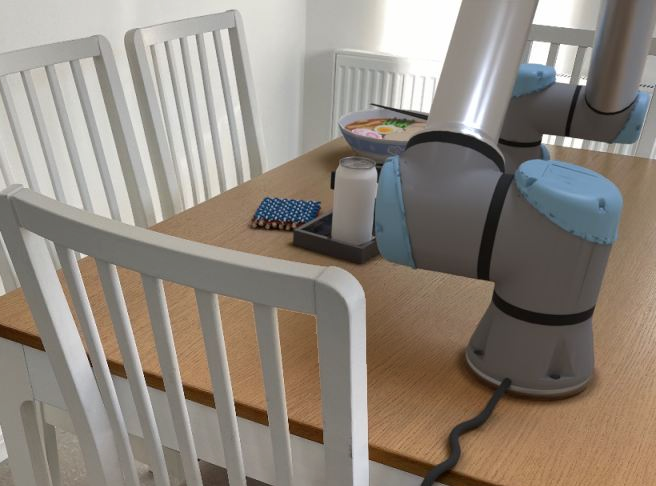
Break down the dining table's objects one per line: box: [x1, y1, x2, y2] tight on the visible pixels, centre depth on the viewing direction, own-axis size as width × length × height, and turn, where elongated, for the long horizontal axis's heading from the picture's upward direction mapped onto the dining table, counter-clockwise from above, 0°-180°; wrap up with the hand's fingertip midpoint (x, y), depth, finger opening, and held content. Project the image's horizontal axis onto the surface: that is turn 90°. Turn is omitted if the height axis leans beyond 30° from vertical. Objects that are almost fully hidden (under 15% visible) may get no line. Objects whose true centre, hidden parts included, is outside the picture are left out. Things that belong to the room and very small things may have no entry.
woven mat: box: [251, 196, 322, 231], centre depth 139 cm, size 10×11×2 cm
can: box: [331, 156, 378, 246], centre depth 129 cm, size 6×6×12 cm
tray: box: [292, 208, 380, 265], centre depth 132 cm, size 15×13×2 cm
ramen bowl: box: [337, 102, 430, 162], centre depth 162 cm, size 25×23×8 cm
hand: (352, 193), depth 128 cm, fingers open, 13 cm apart
